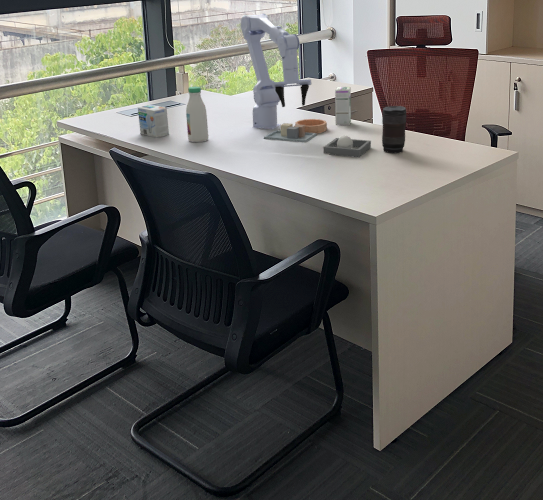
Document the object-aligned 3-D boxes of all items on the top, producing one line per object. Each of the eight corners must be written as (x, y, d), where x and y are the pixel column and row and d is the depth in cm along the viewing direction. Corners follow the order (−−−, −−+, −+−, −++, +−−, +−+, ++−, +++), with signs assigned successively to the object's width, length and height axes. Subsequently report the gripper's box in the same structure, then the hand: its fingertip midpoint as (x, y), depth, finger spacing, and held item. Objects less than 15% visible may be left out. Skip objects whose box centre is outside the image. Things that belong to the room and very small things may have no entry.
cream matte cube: (280, 135, 259) (280, 125, 257) (284, 133, 262) (284, 123, 260) (289, 136, 258) (288, 125, 256) (292, 134, 260) (292, 123, 259)
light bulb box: (139, 134, 271) (136, 107, 267) (153, 130, 276) (150, 104, 271) (156, 137, 264) (153, 110, 260) (169, 134, 269) (167, 107, 264)
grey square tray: (323, 154, 235) (323, 146, 234) (336, 144, 246) (336, 137, 245) (359, 157, 230) (359, 150, 229) (370, 147, 240) (370, 140, 239)
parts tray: (263, 139, 256) (263, 136, 255) (275, 133, 265) (275, 130, 264) (305, 143, 249) (305, 140, 248) (316, 136, 258) (316, 133, 258)
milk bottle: (211, 138, 261) (208, 85, 253) (203, 143, 254) (199, 89, 246) (193, 137, 263) (189, 85, 255) (185, 142, 257) (180, 89, 248)
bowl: (290, 133, 263) (290, 124, 262) (302, 126, 273) (302, 118, 272) (319, 135, 258) (319, 127, 257) (330, 128, 268) (330, 120, 267)
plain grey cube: (287, 139, 254) (286, 128, 252) (290, 136, 257) (290, 126, 255) (295, 139, 252) (295, 129, 251) (299, 137, 255) (298, 127, 254)
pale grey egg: (342, 154, 234) (342, 138, 232) (333, 151, 238) (333, 135, 236) (361, 151, 237) (361, 135, 235) (351, 147, 242) (352, 132, 239)
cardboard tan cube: (293, 137, 256) (293, 126, 255) (296, 134, 259) (295, 124, 258) (302, 137, 255) (302, 127, 253) (304, 135, 258) (304, 124, 256)
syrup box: (349, 125, 272) (350, 89, 266) (334, 125, 273) (335, 89, 267) (350, 122, 277) (351, 86, 271) (336, 122, 278) (336, 86, 272)
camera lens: (378, 148, 239) (380, 106, 233) (401, 147, 240) (403, 105, 234) (384, 154, 232) (385, 111, 226) (407, 153, 232) (409, 109, 226)
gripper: (269, 71, 248) (272, 108, 252) (307, 68, 244) (310, 105, 249) (273, 69, 254) (276, 106, 259) (311, 66, 251) (313, 103, 255)
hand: (293, 106), depth 254 cm, fingers open, 7 cm apart
